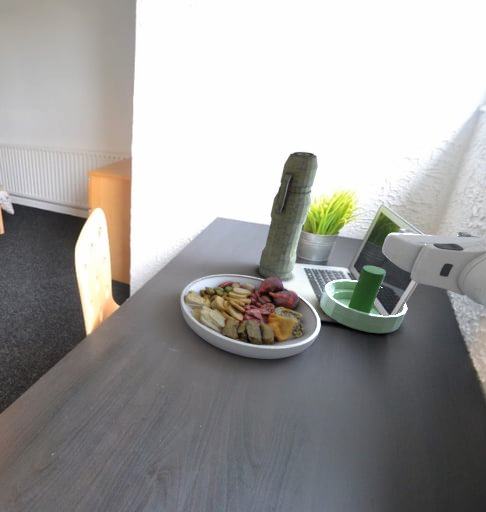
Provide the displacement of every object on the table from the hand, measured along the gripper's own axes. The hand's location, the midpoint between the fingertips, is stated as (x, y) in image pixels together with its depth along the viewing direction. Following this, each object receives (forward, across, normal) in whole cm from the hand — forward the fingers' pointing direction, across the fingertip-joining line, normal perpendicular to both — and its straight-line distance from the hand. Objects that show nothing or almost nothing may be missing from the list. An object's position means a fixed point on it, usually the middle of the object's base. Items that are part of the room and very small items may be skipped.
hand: (431, 234), depth 68 cm
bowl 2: (+12, 0, +27) cm, 29 cm away
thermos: (+30, +15, +27) cm, 43 cm away
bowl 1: (+3, +28, +26) cm, 39 cm away
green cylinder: (+12, 0, +26) cm, 29 cm away
